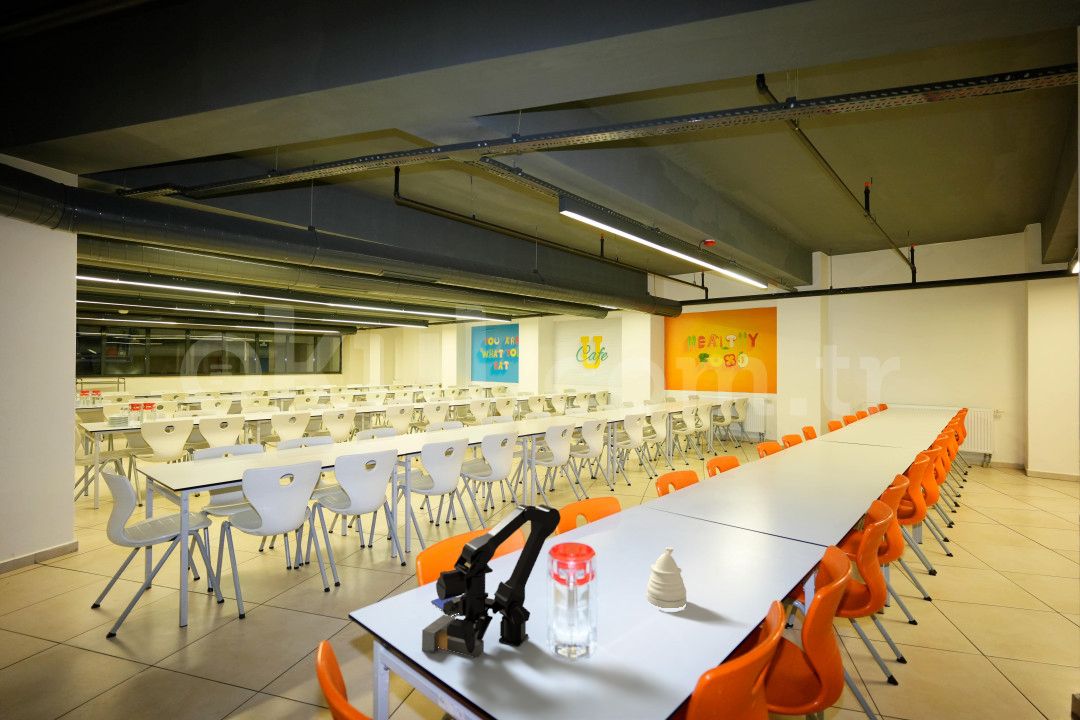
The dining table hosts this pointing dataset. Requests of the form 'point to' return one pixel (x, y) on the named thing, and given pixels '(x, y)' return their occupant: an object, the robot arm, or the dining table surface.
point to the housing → (434, 633)
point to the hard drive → (440, 603)
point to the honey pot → (666, 583)
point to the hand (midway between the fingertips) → (474, 649)
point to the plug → (459, 644)
